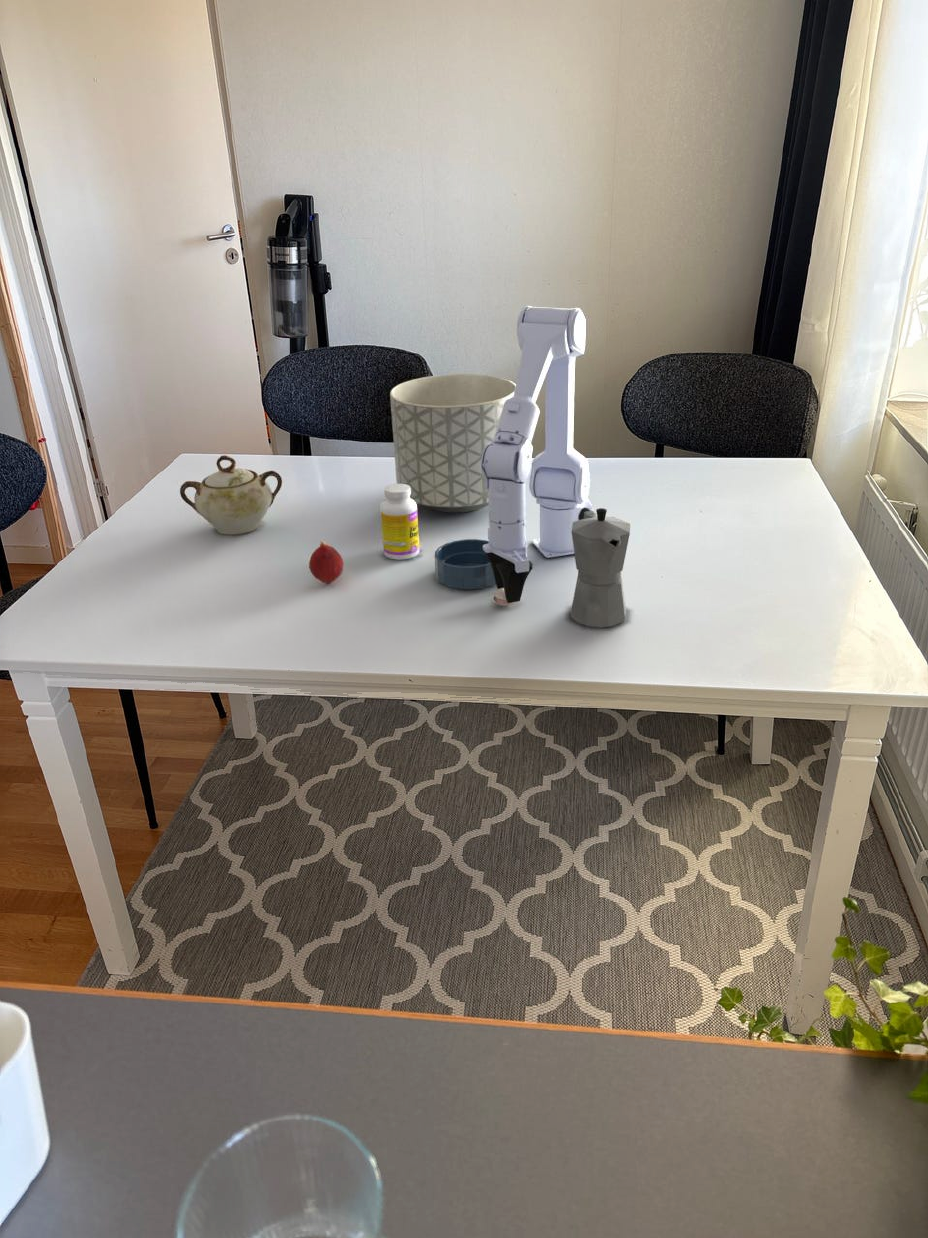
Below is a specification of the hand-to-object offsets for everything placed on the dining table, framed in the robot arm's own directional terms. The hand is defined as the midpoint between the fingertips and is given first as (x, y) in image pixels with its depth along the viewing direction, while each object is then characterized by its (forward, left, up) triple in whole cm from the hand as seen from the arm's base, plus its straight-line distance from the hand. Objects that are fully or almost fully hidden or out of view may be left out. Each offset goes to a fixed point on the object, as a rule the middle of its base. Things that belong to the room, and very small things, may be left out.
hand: (508, 595), depth 155 cm
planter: (-5, -47, -2) cm, 47 cm away
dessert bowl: (+3, -12, -1) cm, 12 cm away
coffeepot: (-12, +8, -2) cm, 15 cm away
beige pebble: (0, 0, -2) cm, 2 cm away
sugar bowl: (+40, -51, -2) cm, 65 cm away
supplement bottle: (+12, -26, -2) cm, 29 cm away
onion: (+27, -18, -2) cm, 32 cm away
